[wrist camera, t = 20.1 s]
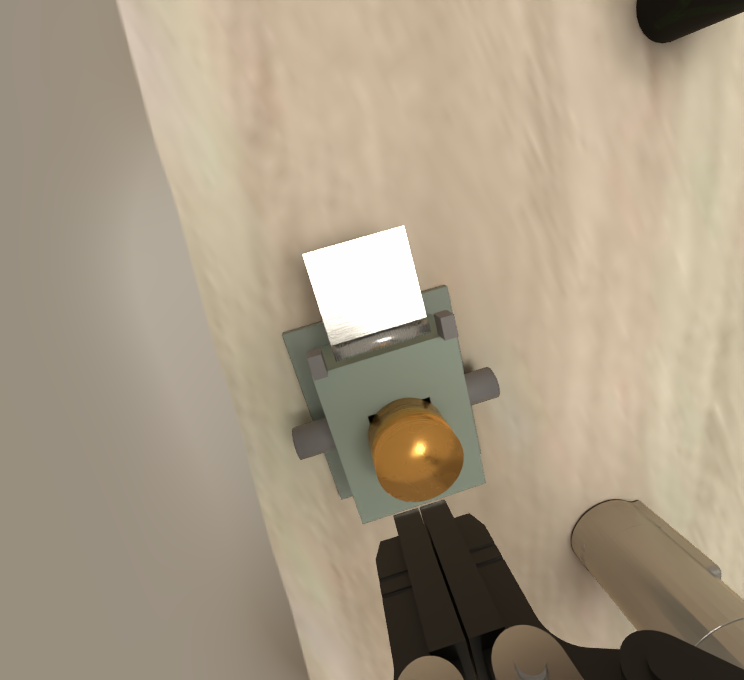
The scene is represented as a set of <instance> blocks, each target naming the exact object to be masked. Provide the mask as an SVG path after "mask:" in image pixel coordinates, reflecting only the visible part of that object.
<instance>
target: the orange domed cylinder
mask: <svg viewBox="0 0 744 680" xmlns="http://www.w3.org/2000/svg"><path fill="white" fill-rule="evenodd" d="M368 443H369V447H370V451H371V455H372V459H373V463H374V467H375V470H376V474H377V478H378V481H379V483H380V485H381V486H382V488H383V489H384V490H385V491H386V492H387V493H388V494H389V495H391V496H393V497H394V498H397V499H399V500H402V501H407V502H420V501H426V500H429V499H432V498H435V497H437V496H439V495H441V494H442V493H444V492H445V491H446V490H447V489H449V488H450V487H451V486H452V485H453V484H454V482H455V481H456V480H457V478H458V476H459V475H460V472H461V470H462V467H463V462H464V453H463V448H462V445H461V443H460V441H459V439H458V438H457V436H456V435H455V433H454V432H453V431H452V429H451V428H450V426H449V425H448V423H447V422H446V420H445V419H444V418H443V416H442V415H441V413H440V412H439V410H438V409H437V408H436V407H435V406H434V405H433V404H431V403H429V402H428V401H425V400H423V399H419V398H402V399H398V400H395V401H393V402H391V403H389V404H387V405H386V406H384V407H383V408H382V409H381V410H379V412H378V413H377V414H375V416H374V418H373V420H372V422H371V424H370V426H369V430H368Z"/></svg>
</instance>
